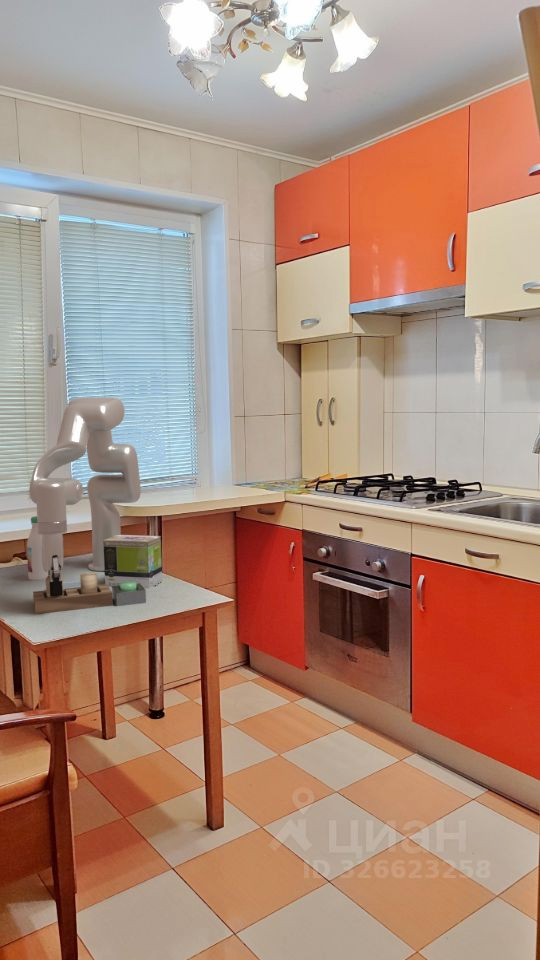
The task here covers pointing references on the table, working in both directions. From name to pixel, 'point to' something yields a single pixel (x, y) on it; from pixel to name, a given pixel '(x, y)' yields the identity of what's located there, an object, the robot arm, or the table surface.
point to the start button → (128, 586)
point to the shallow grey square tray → (72, 584)
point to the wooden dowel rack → (72, 600)
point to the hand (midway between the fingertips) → (55, 592)
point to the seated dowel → (88, 583)
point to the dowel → (49, 587)
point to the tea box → (133, 560)
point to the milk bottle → (35, 553)
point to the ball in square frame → (128, 595)
